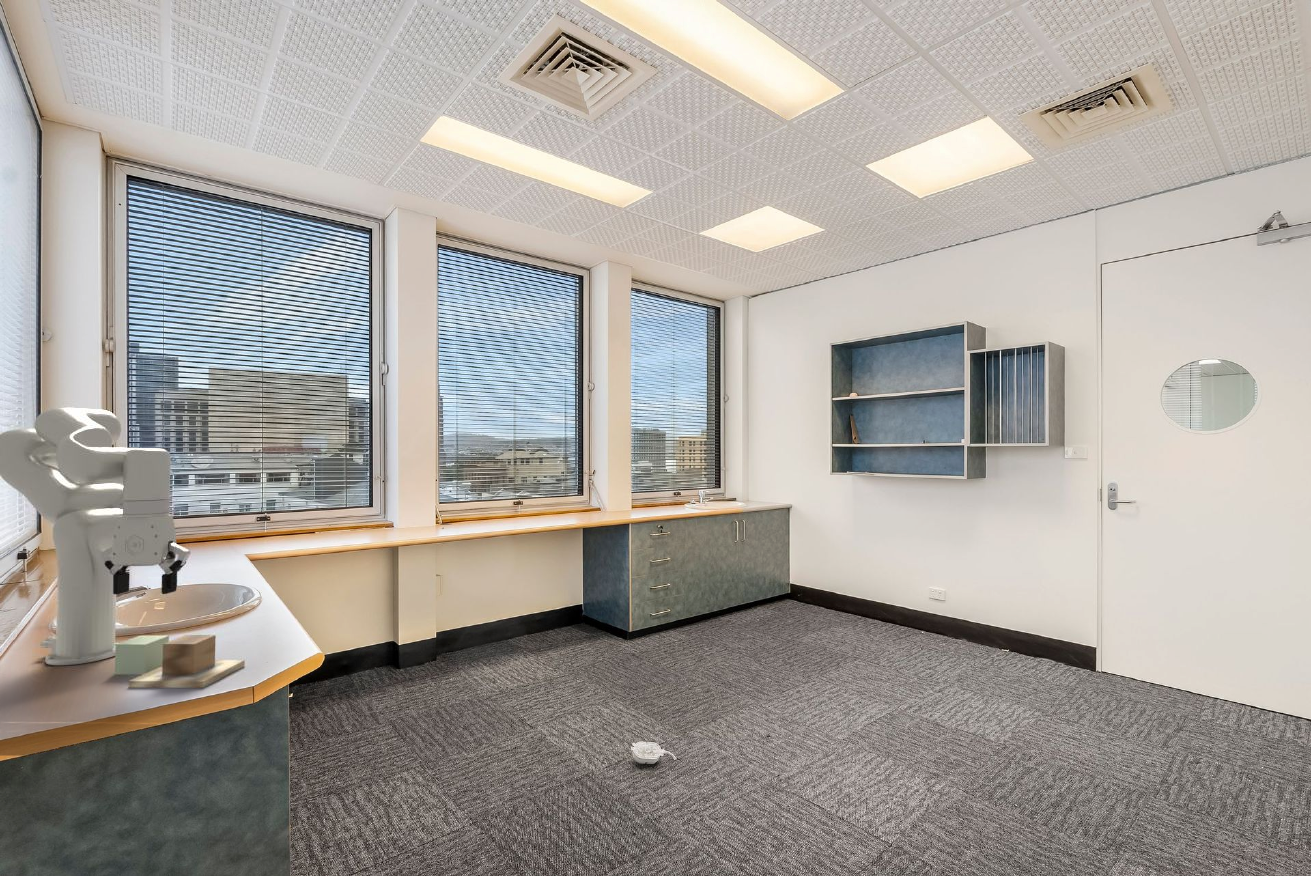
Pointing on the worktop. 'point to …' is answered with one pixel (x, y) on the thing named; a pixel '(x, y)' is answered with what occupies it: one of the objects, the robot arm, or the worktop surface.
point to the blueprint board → (187, 676)
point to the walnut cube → (188, 655)
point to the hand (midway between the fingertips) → (145, 592)
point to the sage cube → (139, 654)
